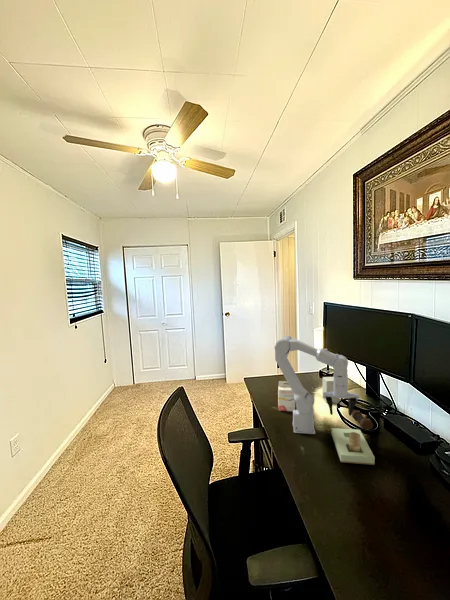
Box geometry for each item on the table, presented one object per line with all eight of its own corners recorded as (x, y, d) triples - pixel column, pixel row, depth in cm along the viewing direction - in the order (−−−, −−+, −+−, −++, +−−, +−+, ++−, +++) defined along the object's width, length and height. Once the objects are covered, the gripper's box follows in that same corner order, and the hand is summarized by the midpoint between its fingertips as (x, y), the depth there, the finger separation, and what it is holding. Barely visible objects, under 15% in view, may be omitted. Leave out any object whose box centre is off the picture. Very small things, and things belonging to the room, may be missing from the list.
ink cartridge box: (278, 411, 157) (278, 384, 156) (278, 407, 162) (277, 380, 161) (295, 411, 156) (295, 384, 155) (294, 407, 161) (293, 380, 160)
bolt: (354, 418, 151) (369, 433, 136) (345, 414, 151) (359, 428, 136) (360, 408, 150) (375, 422, 135) (351, 404, 150) (365, 417, 135)
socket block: (340, 462, 113) (340, 454, 113) (331, 434, 133) (331, 428, 133) (374, 464, 111) (374, 457, 111) (359, 436, 131) (360, 429, 131)
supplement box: (339, 403, 165) (339, 381, 163) (326, 403, 165) (326, 381, 164) (335, 397, 172) (335, 376, 171) (322, 397, 172) (322, 376, 171)
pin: (348, 455, 116) (348, 436, 116) (349, 450, 120) (349, 431, 119) (359, 458, 115) (359, 438, 114) (360, 452, 118) (360, 433, 118)
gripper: (356, 381, 131) (355, 411, 133) (321, 380, 134) (322, 409, 135) (360, 387, 125) (359, 418, 126) (323, 385, 127) (324, 416, 128)
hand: (340, 414), depth 130 cm, fingers open, 7 cm apart
